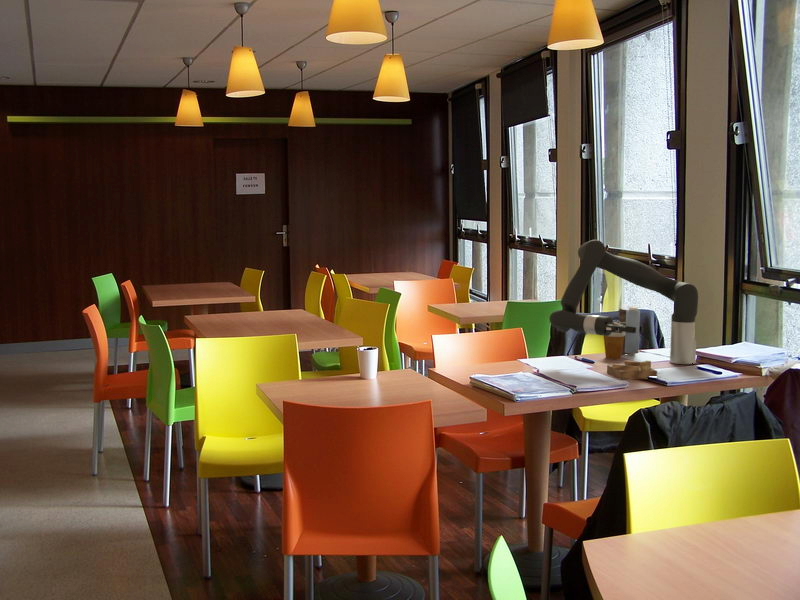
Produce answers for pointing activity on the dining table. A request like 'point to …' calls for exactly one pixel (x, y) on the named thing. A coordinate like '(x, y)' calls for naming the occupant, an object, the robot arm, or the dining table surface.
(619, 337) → the disposable coffee cup
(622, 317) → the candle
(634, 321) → the flask
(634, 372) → the display stand
